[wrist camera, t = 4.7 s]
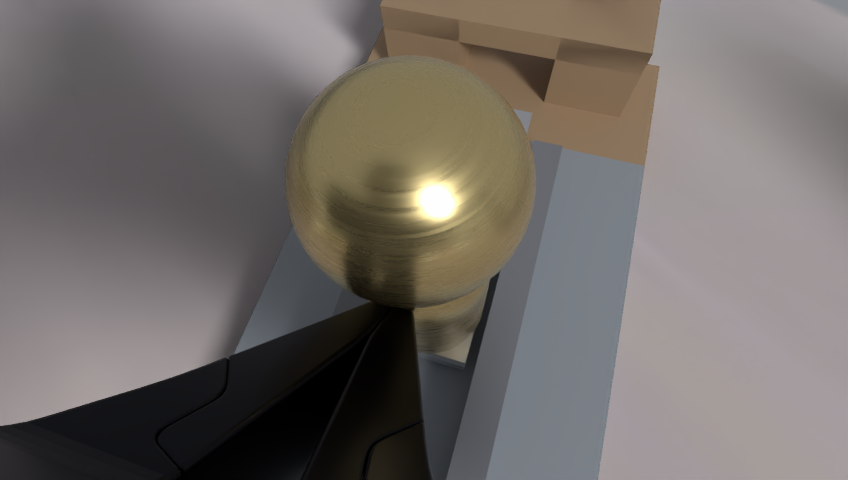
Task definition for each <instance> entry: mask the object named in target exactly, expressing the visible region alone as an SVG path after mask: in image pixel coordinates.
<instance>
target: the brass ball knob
mask: <svg viewBox="0 0 848 480" xmlns="http://www.w3.org/2000/svg"><path fill="white" fill-rule="evenodd" d="M531 117H532V113H531V112H526V111H521V110H516V109H512V107H511V106H510V104H509V103H508V101H507V100H506V99H505V98H504V97H503V96H502V95H501V94H500V92H498V91H497V90H496V89H495V88H494V87H493V86H492V85H490V84H489V83H488V82H487V81H486V80H484V79H483V78H482V77H480V76H479V75H477V74H476V73H474V72H472V71H470V70H468V69H466V68H464V67H462V66H460V65H457V64H455V63H452V62H449V61H446V60H443V59H439V58H435V57H429V56H422V55H398V56H390V57H384V58H380V59H377V60H373V61H370V62H367V63H365V64H362V65H359V66H357V67H356V68H354V69H352V70H350V71H348V72H346V73H345V74H343V75H342V76H340V77H339V78H337V79H336V80H335V81H333V82H332V83H331V84H330V85H328V86H327V87H326V88H325V89H324V90H323V91H322V92H321V93H320V94H319V95H318V96H317V97H316V98H315V99H314V101H313V102H312V103H311V104H310V106H309V107H308V108H307V110H306V112H305V113H304V115H303V117H302V118H301V120H300V122H299V124H298V125H297V127H296V130H295V132H294V135H293V137H292V140H291V144H290V147H289V151H288V155H287V159H286V167H285V197H286V202H287V207H288V212H289V216H290V219H291V222H292V225H293V228H294V230H295V233H296V235H297V237H298V238H299V240H300V242H301V244H302V246H303V248H304V249H305V251H306V253H307V254H308V255H309V257H310V258H311V259H312V261H313V262H314V263H315V265H316V266H317V267H318V268H319V269H321V270H322V271H323V272H324V273H325V274H326V275H327V276H328V277H329V278H330V279H331V280H332V281H334V282H335V283H336V284H338V285H339V286H340V287H342V288H343V289H345V290H347V291H348V292H350V293H352V294H354V295H356V296H358V297H360V298H363V299H366V300H367V301H368V302H370V301H371V302H374V303H377V304H381V305H386V306H390V307H393V308H394V307H398V308H403V309H406V310H410V311H412V312H413V313H414V317H415V327H416V338H417V348H418V357H421V358H425V359H428V360H431V361H434V362H438V363H441V364H444V365H447V366H451V367H454V368H457V369H460V370H464V369H465V366H466V362H467V358H468V354H469V351H470V347H471V343H472V339H473V336H474V332H475V329H476V327H477V325H478V323H479V321H480V319H481V316H482V312H483V308H484V304H485V300H486V295H487V291H488V287H489V283H490V279H491V278H492V277H494V276H495V275H496V274H497V273H498V272H499V271H500V270H501V269H502V268H503V267H504V266H505V265H506V264H507V262H508V261H509V260H510V258H511V257H512V256H513V254H514V253H515V251H516V250H517V248H518V246H519V245H520V243H521V241H522V239H523V237H524V235H525V233H526V231H527V228H528V225H529V222H530V219H531V216H532V212H533V207H534V201H535V194H536V171H535V163H534V156H533V152H532V149H531V145H530V142H529V139H528V136H527V133H528V129H529V125H530V121H531Z"/></svg>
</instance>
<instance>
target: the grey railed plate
mask: <svg viewBox="0 0 848 480" xmlns="http://www.w3.org/2000/svg"><path fill="white" fill-rule="evenodd" d="M660 3H661V0H382V2H381V4H380V9H381V15H382V21H383V28H382V30H381V32H380V34H379V37H378V39H377V41H376V43H375V45H374V48H373V50H372V52H371V54H370V56H369V58H368V61H367V62H370V61H373V60H377V59H380V58H384V57H390V56H398V55H422V56H429V57H435V58H439V59H443V60H446V61H449V62H452V63H455V64H457V65H460V66H462V67H464V68H466V69H468V70H470V71H472V72H474V73H476V74H477V75H479V76H480V77H482V78H483V79H484V80H486V81H487V82H488V83H489V84H490V85H492V86H493V87H494V88H495V89H496V90H497V91H498V92H500V94H501V95H502V96H503V97H504V98H505V99H506V100H507V101H508V103H509V104H510V106H511V107H512V109H516V110H521V111H526V112H531V113H532V117H531V121H530V125H529V129H528V133H527V136H528V139H529V142H530V145H531V149H532V152H533V156H534V163H535V171H536V194H535V201H534V207H533V212H532V216H531V219H530V222H529V225H528V228H527V231H526V233H525V235H524V237H523V239H522V241H521V243H520V245H519V246H518V248H517V250H516V251H515V253H514V254H513V256H512V257H511V258H510V260H509V261H508V262H507V264H506V265H505V266H504V267H503V268H502V269H501V270H500V271H499V272H498V273H497V274H496V275H495V276H494V277H492V278H491V279H490V283H489V287H488V291H487V295H486V300H485V304H484V308H483V312H482V316H481V319H480V321H479V323H478V325H477V327H476V329H475V332H474V336H473V339H472V343H471V347H470V351H469V354H468V358H467V362H466V366H465V369H464V370H460V369H457V368H454V367H451V366H447V365H444V364H441V363H438V362H434V361H431V360H428V359H425V358H421V357H418V358H419V369H420V379H421V389H422V399H423V410H424V420H425V428H426V438H427V446H428V453H429V460H430V467H431V472H432V476H433V480H598V474H599V467H600V461H601V454H602V447H603V441H604V434H605V427H606V421H607V414H608V407H609V401H610V394H611V387H612V380H613V374H614V367H615V360H616V354H617V347H618V340H619V334H620V327H621V320H622V313H623V307H624V300H625V293H626V287H627V280H628V273H629V267H630V260H631V253H632V247H633V240H634V233H635V226H636V220H637V213H638V206H639V200H640V193H641V186H642V180H643V173H644V166H645V160H646V153H647V146H648V139H649V133H650V126H651V119H652V113H653V106H654V99H655V93H656V86H657V79H658V72H659V66H655V65H650V64H647V63H648V61H649V59H650V58H651V56H652V54H653V47H654V41H655V35H656V28H657V22H658V16H659V10H660ZM365 303H368V301H367V300H366V299H363V298H360V297H358V296H356V295H354V294H352V293H350V292H348V291H347V290H345V289H343V288H342V287H340V286H339V285H338V284H336V283H335V282H334V281H332V280H331V279H330V278H329V277H328V276H327V275H326V274H325V273H324V272H323V271H322V270H321V269H319V268H318V267H317V266H316V265H315V263H314V262H313V261H312V259H311V258H310V257H309V255H308V254H307V253H306V251H305V249H304V248H303V246H302V244H301V242H300V240H299V238H298V237H297V235H296V233H295V230H294V228H293V225H292V227H291V230H290V232H289V234H288V236H287V238H286V241H285V243H284V245H283V247H282V249H281V252H280V254H279V256H278V258H277V260H276V263H275V265H274V267H273V269H272V271H271V274H270V276H269V278H268V280H267V282H266V284H265V287H264V289H263V291H262V293H261V295H260V298H259V300H258V302H257V304H256V306H255V309H254V311H253V313H252V315H251V317H250V320H249V322H248V324H247V326H246V328H245V331H244V333H243V335H242V337H241V339H240V342H239V344H238V346H237V348H236V350H235V352H234V354H236V353H239V352H242V351H244V350H247V349H249V348H252V347H254V346H257V345H260V344H262V343H265V342H267V341H270V340H272V339H275V338H278V337H280V336H283V335H285V334H288V333H290V332H293V331H296V330H298V329H301V328H303V327H306V326H308V325H311V324H314V323H316V322H319V321H321V320H324V319H327V318H329V317H332V316H334V315H337V314H339V313H342V312H345V311H347V310H350V309H352V308H355V307H357V306H360V305H363V304H365Z"/></svg>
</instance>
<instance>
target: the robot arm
mask: <svg viewBox="0 0 848 480" xmlns="http://www.w3.org/2000/svg"><path fill="white" fill-rule="evenodd" d="M0 480H433V476H432V472H431V467H430V460H429V453H428V446H427V438H426V428H425V420H424V410H423V399H422V389H421V379H420V369H419V358H418V348H417V338H416V327H415V317H414V313H413V312H412V311H410V310H406V309H403V308H398V307H394V308H393V307H390V306H386V305H381V304H377V303H374V302H371V301H370V302H368V303H365V304H363V305H360V306H357V307H355V308H352V309H350V310H347V311H345V312H342V313H339V314H337V315H334V316H332V317H329V318H327V319H324V320H321V321H319V322H316V323H314V324H311V325H308V326H306V327H303V328H301V329H298V330H296V331H293V332H290V333H288V334H285V335H283V336H280V337H278V338H275V339H272V340H270V341H267V342H265V343H262V344H260V345H257V346H254V347H252V348H249V349H247V350H244V351H242V352H239V353H236V354H234V355H231V356H230V357H229V359H227V358H223V359H221V360H218V361H215V362H213V363H210V364H208V365H205V366H202V367H200V368H197V369H194V370H191V371H189V372H186V373H183V374H180V375H178V376H175V377H172V378H169V379H166V380H163V381H159V382H156V383H153V384H150V385H147V386H144V387H141V388H138V389H135V390H131V391H128V392H125V393H121V394H118V395H115V396H112V397H108V398H105V399H102V400H98V401H95V402H92V403H89V404H85V405H82V406H79V407H75V408H72V409H69V410H66V411H62V412H59V413H56V414H52V415H49V416H46V417H42V418H39V419H35V420H31V421H27V422H23V423H17V424H12V425H4V426H0Z"/></svg>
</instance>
